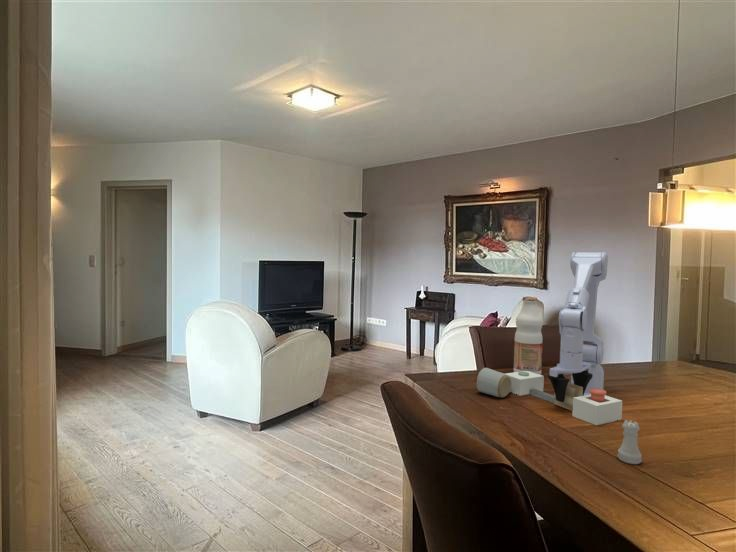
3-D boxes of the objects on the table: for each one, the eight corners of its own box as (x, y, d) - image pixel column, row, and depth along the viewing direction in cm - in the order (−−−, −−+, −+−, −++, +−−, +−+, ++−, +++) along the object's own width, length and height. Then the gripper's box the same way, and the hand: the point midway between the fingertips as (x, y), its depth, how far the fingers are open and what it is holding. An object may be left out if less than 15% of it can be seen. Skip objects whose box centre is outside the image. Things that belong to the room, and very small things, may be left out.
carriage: (563, 402, 127) (564, 381, 126) (582, 408, 121) (582, 387, 121) (554, 404, 125) (554, 383, 125) (572, 410, 120) (573, 388, 119)
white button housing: (597, 410, 121) (597, 393, 120) (621, 419, 114) (622, 400, 114) (572, 416, 116) (573, 397, 116) (596, 425, 110) (597, 405, 110)
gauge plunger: (595, 402, 118) (596, 387, 118) (609, 406, 114) (610, 391, 114) (585, 404, 116) (586, 389, 116) (599, 408, 112) (599, 393, 112)
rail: (534, 393, 135) (534, 388, 135) (586, 412, 119) (586, 407, 119) (530, 394, 134) (530, 389, 134) (581, 413, 118) (581, 408, 118)
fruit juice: (507, 372, 160) (510, 296, 158) (527, 370, 163) (530, 295, 162) (526, 379, 151) (529, 298, 150) (547, 376, 155) (550, 298, 154)
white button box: (526, 385, 143) (526, 368, 143) (543, 391, 137) (543, 374, 137) (503, 389, 139) (503, 371, 139) (519, 395, 133) (520, 377, 132)
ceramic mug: (499, 401, 127) (500, 374, 127) (475, 394, 134) (476, 369, 133) (517, 394, 135) (519, 369, 134) (494, 388, 141) (495, 364, 140)
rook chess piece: (612, 455, 93) (613, 418, 93) (632, 455, 93) (633, 418, 93) (626, 465, 89) (628, 426, 88) (647, 465, 89) (649, 426, 89)
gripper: (576, 346, 129) (574, 391, 129) (541, 350, 122) (539, 398, 123) (598, 351, 123) (596, 399, 123) (562, 355, 116) (560, 406, 117)
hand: (569, 399), depth 123 cm, fingers open, 7 cm apart
